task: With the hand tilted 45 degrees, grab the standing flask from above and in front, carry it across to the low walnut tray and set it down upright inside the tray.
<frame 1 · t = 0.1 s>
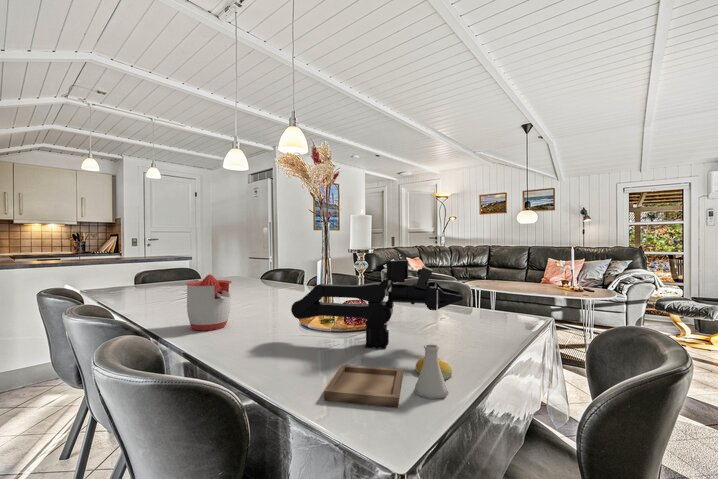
hand: (460, 295, 100), 17 cm above the table, tool horizontal, fingers open, 9 cm apart
flask: (431, 393, 72), on the table
walnut tray: (366, 388, 74), on the table
citrus juicer: (210, 328, 126), on the table
bread roll: (433, 375, 83), on the table
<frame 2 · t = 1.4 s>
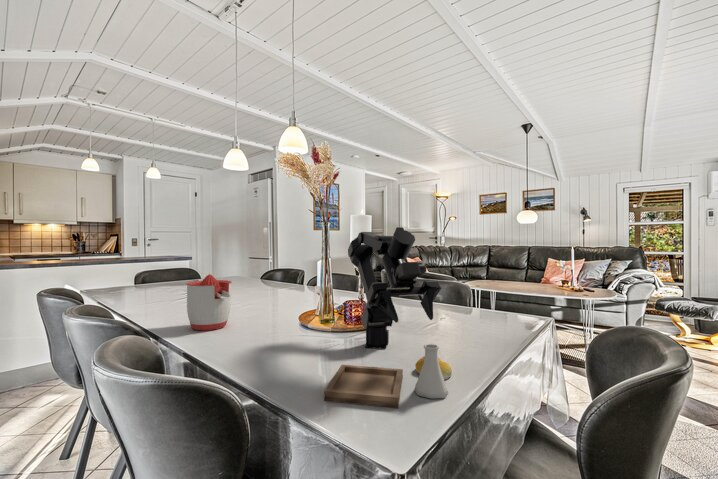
hand: (414, 320, 80), 14 cm above the table, tool tilted 45°, fingers open, 9 cm apart
nothing on the table moved.
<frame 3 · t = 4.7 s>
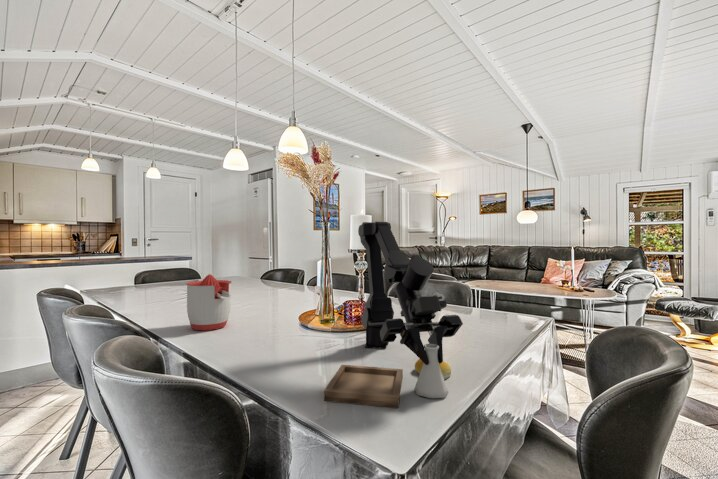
hand: (434, 363, 71), 7 cm above the table, tool tilted 45°, fingers closed on flask, 3 cm apart
flask: (431, 393, 72), on the table, touching gripper
everything else where it was.
when the fingers open (9 cm above the table, at t = 8.3 s): flask stays where it is, resting on walnut tray.
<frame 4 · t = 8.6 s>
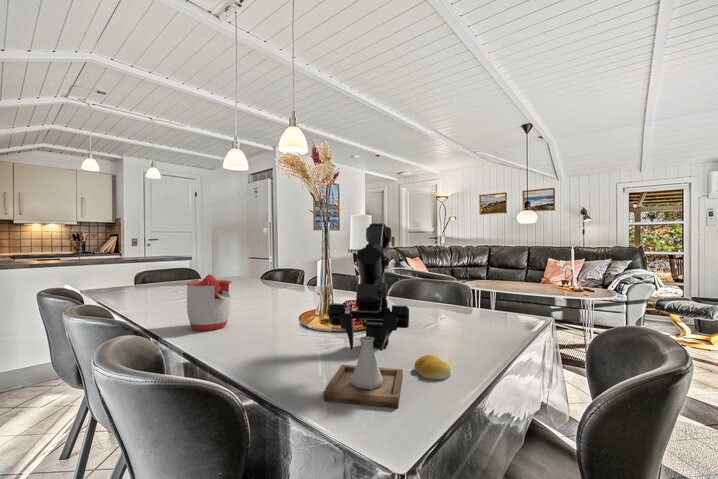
hand: (366, 349, 73), 9 cm above the table, tool tilted 45°, fingers open, 6 cm apart
flask: (366, 384, 74), point 1 cm above the table, touching walnut tray
everything else where it was.
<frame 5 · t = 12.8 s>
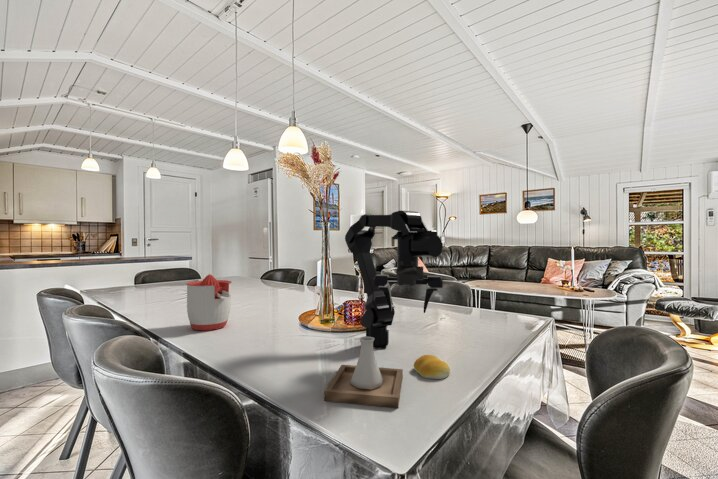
hand: (407, 311, 93), 13 cm above the table, tool pointing down, fingers open, 9 cm apart
nothing on the table moved.
at the end: flask inside the target area on the walnut tray (0.2 cm from its centre), point 0.8 cm above the walnut tray's base; flask tilted 0°; the gripper is holding nothing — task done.
